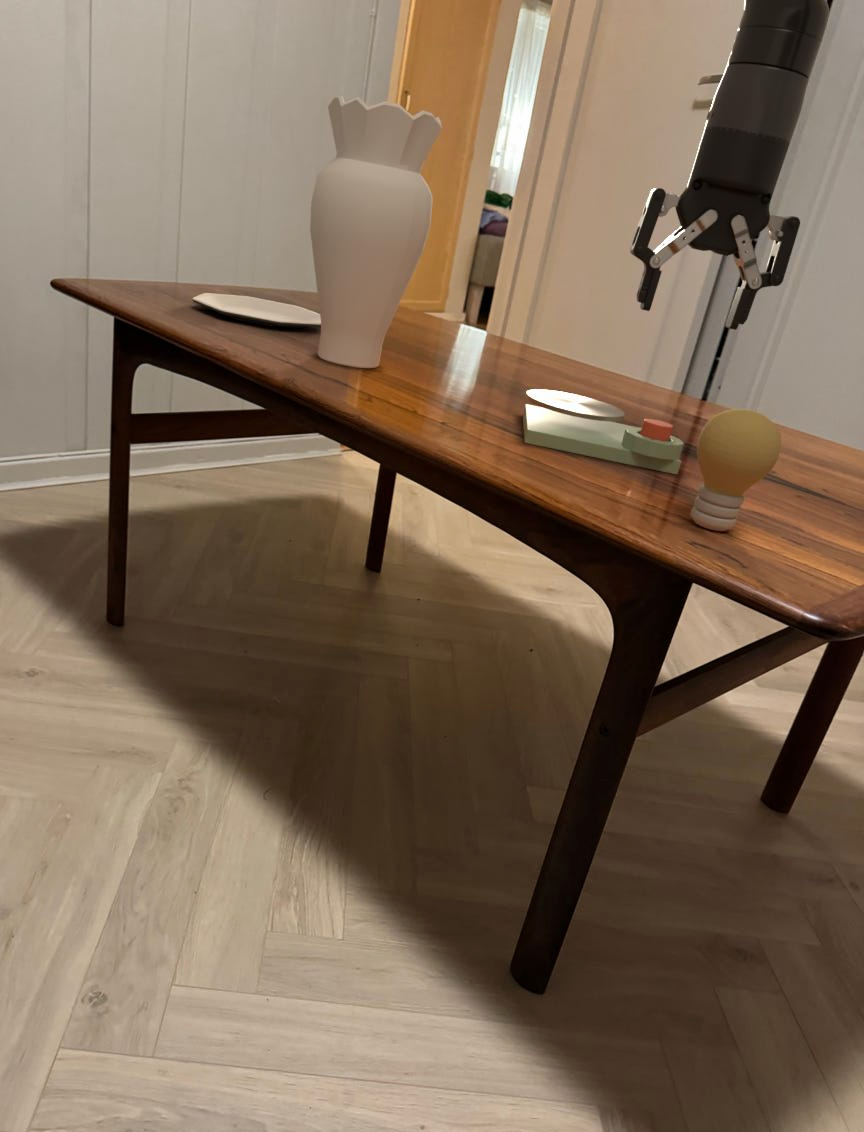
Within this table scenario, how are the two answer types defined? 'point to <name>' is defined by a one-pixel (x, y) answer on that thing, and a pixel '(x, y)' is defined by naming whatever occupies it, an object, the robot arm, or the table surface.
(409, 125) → the vase
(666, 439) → the button
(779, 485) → the table surface
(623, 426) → the scale
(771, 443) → the light bulb
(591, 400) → the scale pan
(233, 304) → the plate
